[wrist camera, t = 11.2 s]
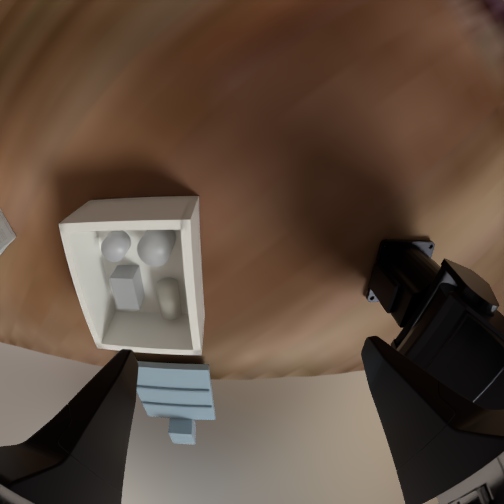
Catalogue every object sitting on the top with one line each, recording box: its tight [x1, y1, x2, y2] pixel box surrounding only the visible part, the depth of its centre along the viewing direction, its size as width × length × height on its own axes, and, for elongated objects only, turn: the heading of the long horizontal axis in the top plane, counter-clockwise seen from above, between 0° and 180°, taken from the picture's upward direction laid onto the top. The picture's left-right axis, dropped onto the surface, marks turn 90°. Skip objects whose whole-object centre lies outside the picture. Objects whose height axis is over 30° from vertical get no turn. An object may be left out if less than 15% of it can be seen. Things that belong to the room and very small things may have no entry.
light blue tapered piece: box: [137, 361, 215, 444], centre depth 29 cm, size 14×9×4 cm, turn 178°
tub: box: [59, 196, 205, 355], centre depth 20 cm, size 11×9×5 cm
